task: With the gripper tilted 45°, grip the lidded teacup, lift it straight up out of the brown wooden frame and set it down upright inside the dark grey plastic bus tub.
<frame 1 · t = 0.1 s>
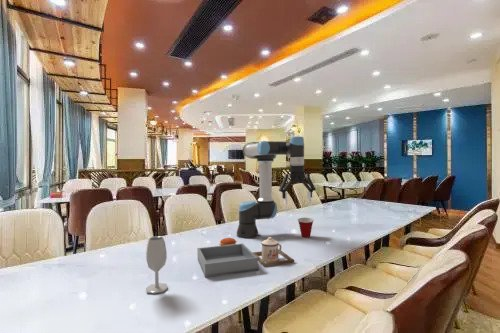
hand: (297, 204, 157), 28 cm above the table, tool pointing down, fingers open, 13 cm apart
brown wooden frame: (272, 258, 153), on the table
teacup with lid: (272, 259, 153), resting in brown wooden frame
bus tub: (226, 264, 145), on the table
hamburger: (228, 249, 170), on the table
wineglass: (157, 290, 118), on the table
plastic cup: (305, 237, 196), on the table
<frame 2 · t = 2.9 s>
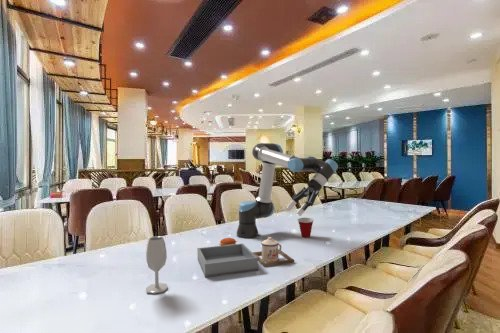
hand: (292, 212, 156), 24 cm above the table, tool tilted 45°, fingers open, 13 cm apart
nothing on the table moved.
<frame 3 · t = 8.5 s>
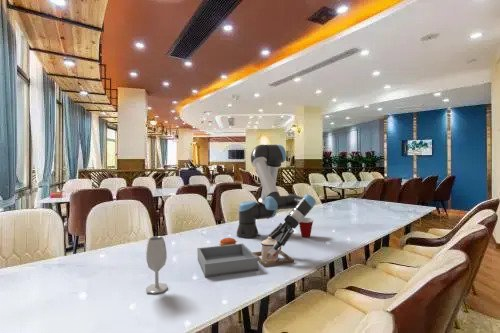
hand: (266, 251, 151), 4 cm above the table, tool tilted 45°, fingers closed on teacup with lid, 9 cm apart
teacup with lid: (272, 259, 153), resting in brown wooden frame, touching gripper
everything else where it was.
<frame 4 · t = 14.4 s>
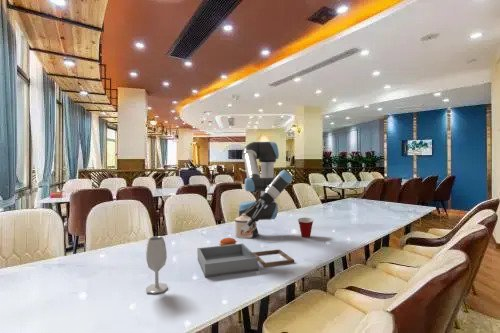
hand: (240, 228, 147), 18 cm above the table, tool tilted 45°, fingers closed on teacup with lid, 9 cm apart
teacup with lid: (246, 236, 148), point 13 cm above the table, touching gripper
everything else where it was.
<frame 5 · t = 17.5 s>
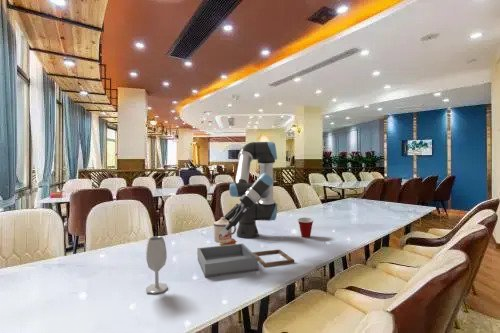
hand: (219, 232, 144), 17 cm above the table, tool tilted 45°, fingers closed on teacup with lid, 9 cm apart
teacup with lid: (225, 240, 145), point 12 cm above the table, touching gripper
everything else where it was.
when the fingers open (7 cm above the table, at t = 20.3 s): teacup with lid drops 1 cm, resting on bus tub.
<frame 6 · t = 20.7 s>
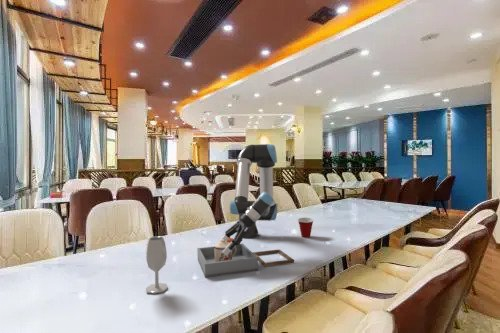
hand: (221, 249, 144), 8 cm above the table, tool tilted 45°, fingers open, 13 cm apart
teacup with lid: (226, 262, 145), point 1 cm above the table, touching bus tub
everything else where it was.
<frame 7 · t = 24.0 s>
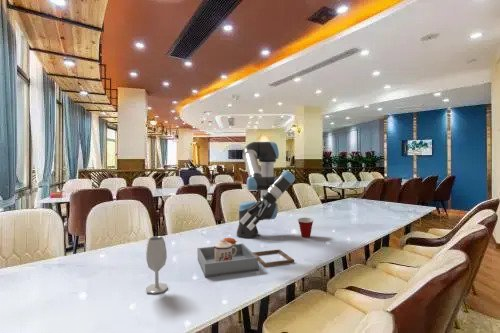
hand: (244, 225, 148), 19 cm above the table, tool tilted 45°, fingers open, 13 cm apart
nothing on the table moved.
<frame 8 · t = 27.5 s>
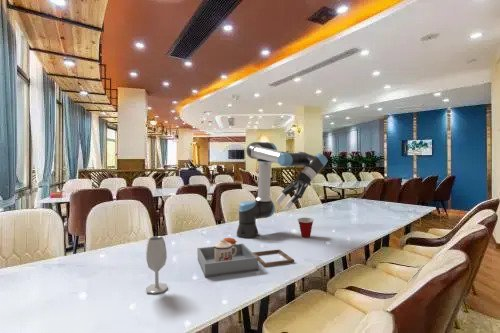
hand: (282, 204, 158), 28 cm above the table, tool tilted 45°, fingers open, 13 cm apart
nothing on the table moved.
at the end: teacup with lid inside the target area on the bus tub (0.2 cm from its centre), point 0.8 cm above the bus tub's base; teacup with lid tilted 0°; the gripper is holding nothing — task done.
